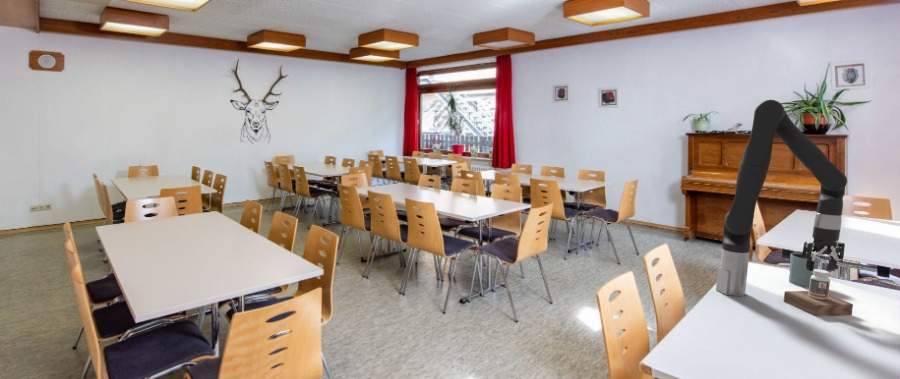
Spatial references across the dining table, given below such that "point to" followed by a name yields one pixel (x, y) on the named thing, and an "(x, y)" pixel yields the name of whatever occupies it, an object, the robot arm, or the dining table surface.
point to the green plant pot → (800, 270)
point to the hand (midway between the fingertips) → (820, 270)
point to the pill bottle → (819, 284)
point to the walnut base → (818, 304)
